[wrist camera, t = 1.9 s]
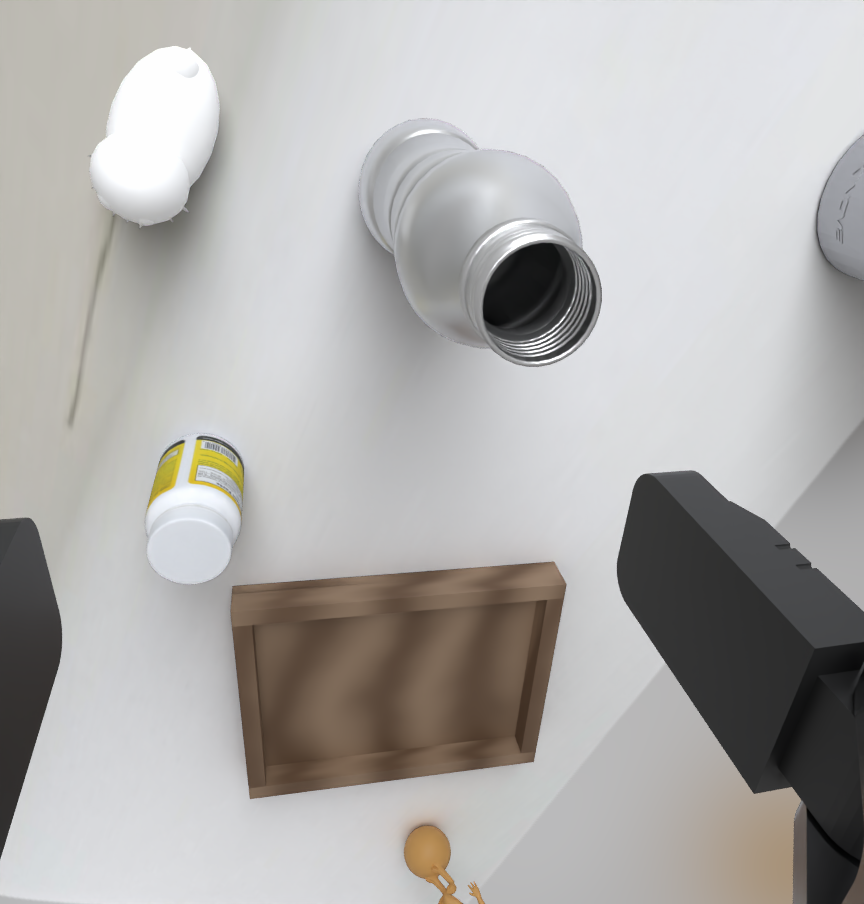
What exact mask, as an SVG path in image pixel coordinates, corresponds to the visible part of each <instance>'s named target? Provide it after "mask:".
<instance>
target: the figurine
mask: <svg viewBox="0 0 864 904" xmlns="http://www.w3.org/2000/svg"><path fill="white" fill-rule="evenodd" d="M450 855H451V849H450V844H449V841H448V839H447V837H446V835H445V834H444V833H443V832H442V831H441V830H440V829H438V828H436V827H434V826H421V827H419V828H417V829H415V830H414V831H413V832H412V833H411V834H410V835H409V837H408V838H407V840H406V843H405V847H404V857H405V861H406V864H407V866H408V868H409V869H410V871H411V872H412V873H413V874H415V875H416V876H418V877H420V878H424V879H426V881H427V882H429V883H433V884H434V885H435V886H436V887H437V888H438V889H439V890H440V891H441V892H442V894H443V896H442V897H441V899H440V901H439V903H438V904H463V903H461V902H460V901H459V900H458V899H457V898H455V897H454V896H452V895H451V894H453V893H455V891H456V886H455V884H454V881H453V879H452V878H451V877H450V875H449V874H448V873H447V872H446V871H445V869H446V867H447V865H448V863H449V860H450ZM439 875H441V876H442V877H443V878H444V879H445V880H446V881H447V882H448V883H449V885H448V887H447V889H446V888H445V887H444V886H443V884H442V883H441V882H440V881H439V879H438V876H439ZM470 883H471V882H470ZM474 884H475V882H474ZM471 885H472V887H473V888H471V887H470V886H469V885H468V887H469V888H470V889H471V891H472V892H473V893H469V894H470V895H472V896H475V897H476V898H477V900H478V903H479V904H485V903H484V901H483V900H482V898H481V895H480V891H479V889H478V887H477V885H476V884H475V886H474V885H473V884H472V883H471Z"/></svg>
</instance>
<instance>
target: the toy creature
mask: <svg viewBox="0 0 864 904" xmlns="http://www.w3.org/2000/svg"><path fill="white" fill-rule="evenodd" d="M219 112H220V104H219V98H218V92H217V86H216V82H215V80H214V78H213V76H212V74H211V72H210V70H209V68H208V66H207V64H206V63H205V62H204V61H203V60H202V59H201V58H199V57H198V56H197V55H196V54H195V53H194V52H193V51H191V49H190V48H188V49H184V48H180V47H177V46H173V47H167V48H162V49H157V50H155V51H153V52H152V53H150V54H149V55H147V56H146V57H144V58H143V59H141V60H139V61H138V62H137V64H136V65H135V66H134V67H133V68H132V70H131V71H130V72H129V73H128V74H127V76H126V77H125V78H124V79H123V81H122V83H121V85H120V87H119V89H118V91H117V93H116V96H115V98H114V100H113V102H112V105H111V109H110V113H109V118H108V122H107V127H106V138H105V139H104V140H103V141H101V142H100V143H99V144H98V145H97V147H96V149H95V150H94V152H93V154H92V155H89V157H91V162H90V169H89V172H90V177H91V182H92V186H93V187H92V188H94V189H95V191H96V193H97V195H98V199H99V201H100V203H101V204H102V205H103V206H104V207H105V208H107V209H108V210H111V211H113V216H114V215H115V214H117V215H119V216H120V217H122V218H124V219H126V220H127V222H128V221H132V222H136V223H138V224H139V229H140V228H141V226H142V225H144V226H149V225H152V224H157V223H160V222H164V221H168V220H171V221H172V222H173V220H172V217H174V216H175V215H177V214H178V213H179V212H180V211H181V210H184V211H187V212H188V210H187V209H186V208H185V206H184V205H185V204H186V202H187V199H188V194H189V189H190V187H191V186H192V184H193V183H194V182H195V181H196V180H197V179H198V178H199V177H200V175H201V173H202V171H203V170H204V168H205V166H206V164H207V162H208V160H209V158H210V157H211V154H212V151H213V148H214V144H215V141H216V137H217V134H218V127H219Z"/></svg>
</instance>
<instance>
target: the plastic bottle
mask: <svg viewBox="0 0 864 904" xmlns="http://www.w3.org/2000/svg"><path fill="white" fill-rule="evenodd" d="M359 201H360V207H361V212H362V215H363V217H364V220H365V223H366V225H367V227H368V229H369V230H370V232H371V234H372V235H373V237H374V238H375V239H376V240H377V241H378V242H379V244H380V245H381V246H382V247H383V248H385V249H386V250H387V251H389V252H390V253H391V254H393V255H394V256H395V262H396V268H397V273H398V276H399V280H400V283H401V286H402V288H403V291H404V294H405V296H406V298H407V300H408V302H409V303H410V305H411V307H412V308H413V310H414V311H415V313H416V314H417V315H418V316H419V317H420V318H421V319H422V321H423V322H424V323H425V324H426V325H427V326H428V327H430V328H431V329H433V330H434V331H435V332H437V333H438V334H440V335H441V336H443V337H445V338H448V339H450V340H452V341H454V342H457V343H460V344H464V345H468V346H472V347H477V348H491V349H492V350H493V351H494V352H495V353H497V354H498V355H500V356H501V357H502V358H504V359H505V360H508V361H510V362H512V363H514V364H517V365H522V366H527V367H539V366H545V365H550V364H553V363H555V362H558V361H560V360H562V359H564V358H566V357H567V356H569V355H571V354H572V353H573V352H574V351H576V350H577V349H578V348H579V347H580V346H581V345H582V344H583V343H584V342H585V340H586V339H587V338H588V337H589V335H590V333H591V332H592V330H593V328H594V326H595V324H596V322H597V319H598V316H599V313H600V308H601V302H602V288H601V283H600V278H599V275H598V273H597V270H596V268H595V266H594V264H593V262H592V261H591V259H590V258H589V257H588V255H587V254H586V253H585V251H583V248H582V235H581V230H580V225H579V221H578V218H577V215H576V212H575V209H574V207H573V205H572V202H571V200H570V198H569V196H568V194H567V192H566V191H565V189H564V188H563V187H562V185H561V184H560V182H559V181H558V179H557V178H556V177H554V176H553V175H552V174H551V173H550V172H549V171H548V170H547V169H546V168H545V167H544V166H542V165H540V164H539V163H537V162H535V161H533V160H532V159H530V158H528V157H526V156H523V155H520V154H516V153H513V152H510V151H504V150H494V149H479V148H478V147H477V145H476V144H475V143H474V141H473V140H472V139H471V138H470V137H469V136H468V135H467V134H465V133H464V132H463V131H462V130H461V129H459V128H457V127H455V126H454V125H452V124H450V123H447V122H444V121H441V120H438V119H428V118H420V119H413V120H408V121H406V122H403V123H401V124H398V125H396V126H394V127H393V128H391V129H390V130H388V131H387V132H385V133H384V134H383V135H382V136H381V137H380V138H379V139H378V140H377V141H376V142H375V143H374V145H373V147H372V148H371V150H370V151H369V153H368V154H367V156H366V159H365V161H364V164H363V167H362V169H361V175H360V180H359Z"/></svg>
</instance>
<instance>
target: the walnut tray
mask: <svg viewBox="0 0 864 904" xmlns="http://www.w3.org/2000/svg"><path fill="white" fill-rule="evenodd" d="M565 590H566V583H565V581H564V579H563V577H562V575H561V574H560V572H559V570H558V568H557V566H556V564H555V562H546V563H532V564H519V565H506V566H493V567H480V568H467V569H453V570H440V571H427V572H414V573H401V574H388V575H375V576H361V577H348V578H335V579H322V580H309V581H296V582H282V583H269V584H256V585H243V586H233V588H232V601H231V621H232V631H233V640H234V650H235V660H236V669H237V679H238V689H239V698H240V708H241V718H242V727H243V737H244V746H245V756H246V766H247V775H248V785H249V795H250V799H254V798H262V797H269V796H277V795H284V794H292V793H300V792H307V791H315V790H323V789H330V788H338V787H345V786H353V785H361V784H368V783H376V782H384V781H391V780H399V779H406V778H414V777H422V776H429V775H437V774H445V773H452V772H460V771H467V770H475V769H483V768H490V767H498V766H506V765H513V764H521V763H528V762H534V757H535V752H536V746H537V741H538V736H539V730H540V725H541V719H542V714H543V709H544V703H545V698H546V692H547V687H548V682H549V676H550V671H551V665H552V660H553V655H554V649H555V644H556V638H557V633H558V627H559V622H560V617H561V611H562V606H563V600H564V595H565Z"/></svg>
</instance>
